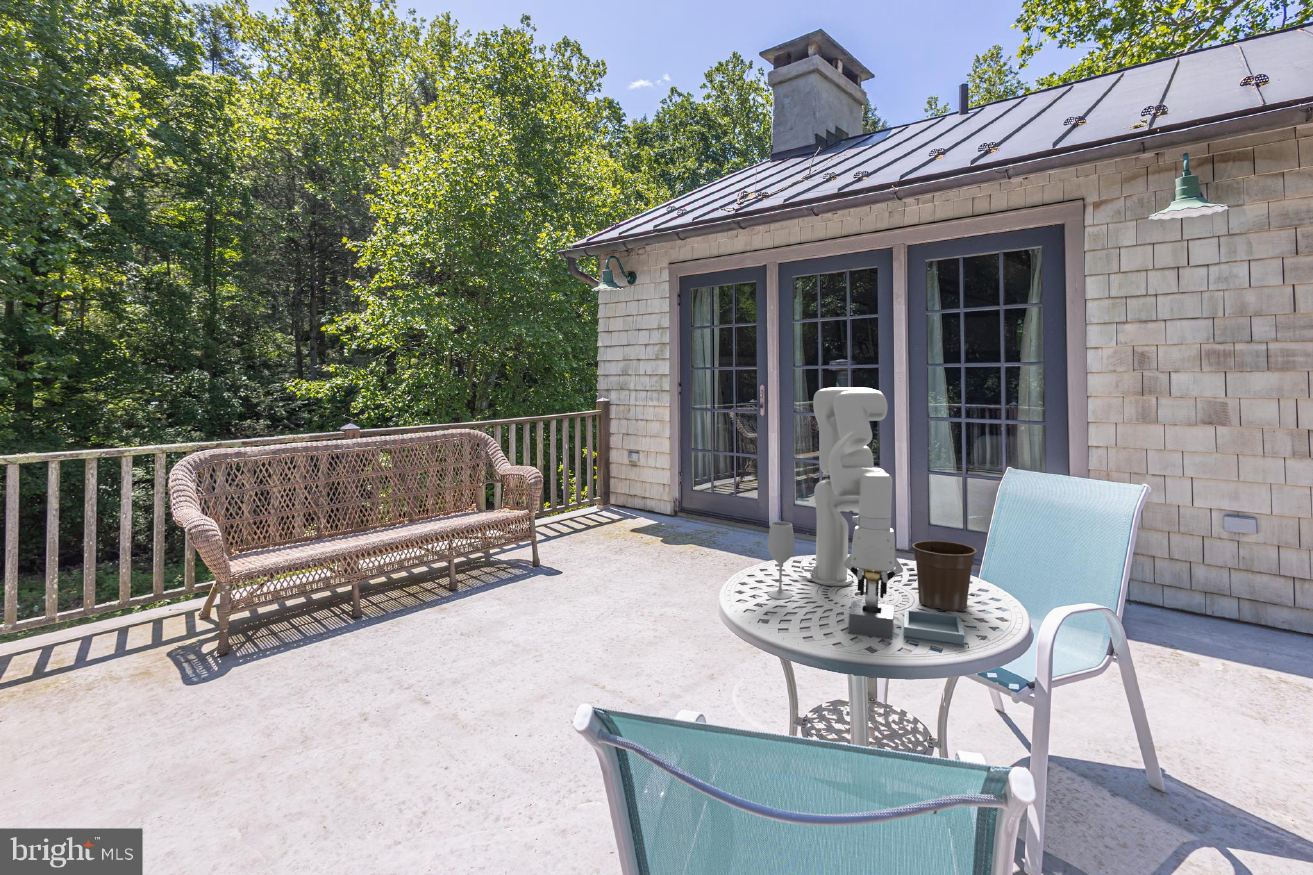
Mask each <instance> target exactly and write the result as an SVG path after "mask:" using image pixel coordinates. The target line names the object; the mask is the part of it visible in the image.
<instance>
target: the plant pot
mask: <svg viewBox="0 0 1313 875" xmlns="http://www.w3.org/2000/svg"><path fill="white" fill-rule="evenodd" d="M911 546H912V549H913V551H914V553H913V554H914V560H915V562H916V563H915V566H916V575H917V576H916V578H917V592H918V601H919V603H920V604H921V605H923V606H924V605H925V606H924V607H927V608H930V609H935V610H936V609H941V610H942V611H952V612H955V611H962V610H964V609H966V608H967V605H968V597H969V590H970V583H971V574H972V567H973V566H974V564H975V562H974V561H975V556H976V554H977V552H978V550H977V548H975V547H973V546H970V545H967V544H965V543H959V542H953V541H945V540H922V541H916V542H913V543H912V544H911Z"/></svg>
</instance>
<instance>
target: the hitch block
mask: <svg viewBox="0 0 1313 875" xmlns="http://www.w3.org/2000/svg"><path fill="white" fill-rule="evenodd" d="M894 616H895V605H892V604H891V605H890V604H881V603H878V613H871V612H865V601H859V600H858V601H857V600H852V601H851V606H850V608H849V612H848V634H851V635H855V636H857V635H858V636H863V637H869V638H877V639H878V638H879V639H883V640H891V641H892V640H893V634H894V621H895V620H894Z"/></svg>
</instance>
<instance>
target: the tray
mask: <svg viewBox="0 0 1313 875" xmlns="http://www.w3.org/2000/svg"><path fill="white" fill-rule="evenodd" d="M903 616H904V617H903V618H904V619H903V640H907V641H915V642H920V643H921V642H922V643H929V644H935V645H936V644H937V645H943V646H949V647H957V648H965V632H964V627H963V622H962V616H961V615H953V614H946V613H939V612H930V611H922V610H915V609H907V608H904V615H903Z"/></svg>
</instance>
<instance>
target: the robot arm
mask: <svg viewBox="0 0 1313 875" xmlns="http://www.w3.org/2000/svg"><path fill="white" fill-rule="evenodd" d="M812 401H813V402H812V406H813V413H814V417H815V419H816V422H817V426H818V431H819V437H818V438H819V440H818V441H819V446H818V448H819V449H818V450H819V451H818V452H819V454H818V455H819V457H818V458H819V459H818V460H819V468H820V470H821V472H822V473H823V474H825V475H828V476H829V479H825V480H820V481H819V482H817V483H816V485H815V487H814V490H813V491H814V492H813V494H814V502H815V510H816V537H815V538H816V542H815V543H816V544H815V547H816V548H815V549H816V550H815V563H814V564H813V563H812V564H806V563H802V564H801V571H804V572H805V573H810V577H809V578H810V580H811V581H812V582H814V583H815V584H819V585H822V586H823V585H824V586H832V587H842V586H843V587H844V586H849V585H851V584H852V583H853V577H852V576H851V575H849V574H848V570H849V571H850V572H851V573H852V574H853V575H854V576H855V577H856V579H857V592H859V595H860V596H861V597H863V596H864V594H865V579H864V578H863V571H864V569H866V570H875V571H881V572H882V580H881V581H880V584H879V585H880V588H879V597H880V599H884V595H887V594H888V593H887V590H888V582H889V581H890V580H891V579H893V578H894V577H895V576H898V575H899V574H902V573H903V572H904V568H903V566H902V565H901V562H899V560H898V559H897V557H896V537H895V531H894V529H893V528H892V527H891V524H892V498H893V496H892V495H893V494H892V493H893V478H892V476H891V475H890V474H888V473H887V472H886V470H884V469H883V468H880V467H874V456H873V452H872V449H871V448H870V447H869V446H867V445H869V444H870V443H871V441H872V440H873V431H872V428H871V423H870V422H871V421H872V422H873V421H875V422H876V421H877V422H879V421H883V420H884V419H885V418H886V416H887V413H888V409H889V408H888V401H887V399H886V397H885V394H883V392H881V391H880V390H877V389H873V388H870V387H827V388H825V387H824V388H821V389H819V390H817V391H816V392H815V393H814V395H813V400H812ZM846 511H848V512H849V511H852V512H853V511H855V512H856V511H857V512H858V515H856V516H854V515H853V516H852V519H851V520H852V523H856V524H857V525H856V526H855V527H854V529H853V530H854V531H853V535H852V543H851V544H852V545H851V553H850V554H849V552H848V551H849V523H848V521H847V520H846V518H845V517H844V516H843V515H842V514H841V512H846ZM848 555H849V556H848Z"/></svg>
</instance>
